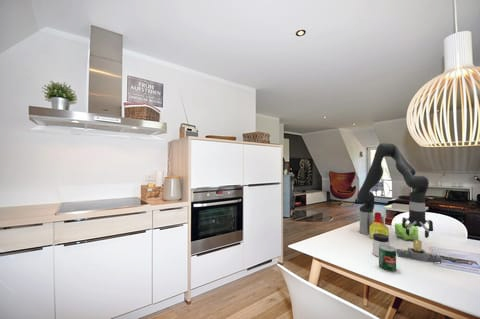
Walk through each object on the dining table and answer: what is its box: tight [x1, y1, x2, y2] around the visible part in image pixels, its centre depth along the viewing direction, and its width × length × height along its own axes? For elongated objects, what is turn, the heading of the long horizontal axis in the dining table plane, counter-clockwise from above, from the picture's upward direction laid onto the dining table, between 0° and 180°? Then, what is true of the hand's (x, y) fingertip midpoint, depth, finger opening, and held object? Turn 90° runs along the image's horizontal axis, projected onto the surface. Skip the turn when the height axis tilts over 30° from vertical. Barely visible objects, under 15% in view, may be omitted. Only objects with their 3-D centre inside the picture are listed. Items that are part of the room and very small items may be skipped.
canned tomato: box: [378, 245, 397, 273], centre depth 117 cm, size 8×8×11 cm
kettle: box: [392, 222, 419, 241], centre depth 159 cm, size 15×14×11 cm
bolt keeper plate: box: [395, 247, 443, 264], centre depth 128 cm, size 20×8×4 cm, turn 63°
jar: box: [372, 234, 390, 258], centre depth 132 cm, size 9×8×12 cm
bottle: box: [369, 211, 390, 239], centre depth 157 cm, size 12×6×20 cm, turn 44°
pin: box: [412, 239, 423, 253], centre depth 128 cm, size 4×4×10 cm
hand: (417, 236), depth 128 cm, fingers open, 8 cm apart
